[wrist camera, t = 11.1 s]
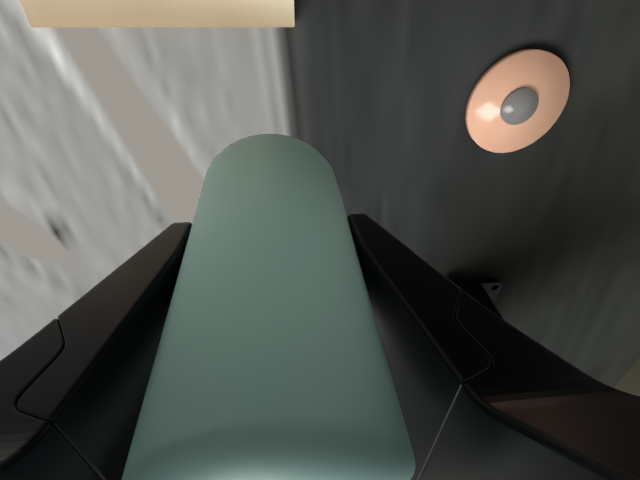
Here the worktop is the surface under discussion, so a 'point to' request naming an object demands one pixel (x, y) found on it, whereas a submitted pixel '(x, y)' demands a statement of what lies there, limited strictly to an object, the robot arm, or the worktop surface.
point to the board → (159, 13)
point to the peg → (270, 337)
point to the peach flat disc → (517, 100)
